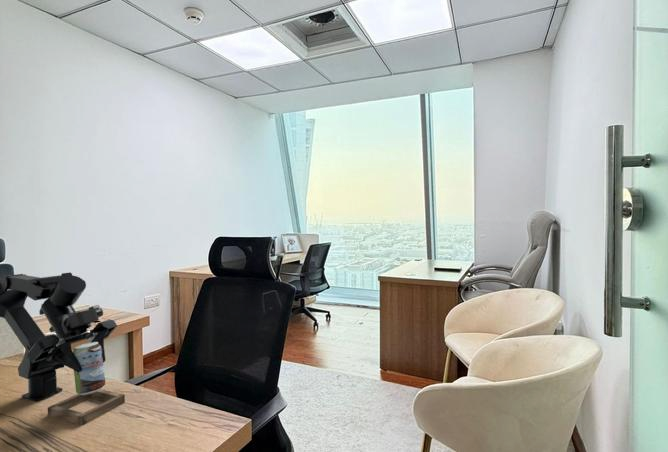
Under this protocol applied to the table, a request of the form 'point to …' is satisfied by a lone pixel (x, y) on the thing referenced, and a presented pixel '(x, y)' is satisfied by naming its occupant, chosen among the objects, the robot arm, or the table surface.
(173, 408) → the table surface
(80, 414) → the walnut collar
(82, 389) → the beverage can
